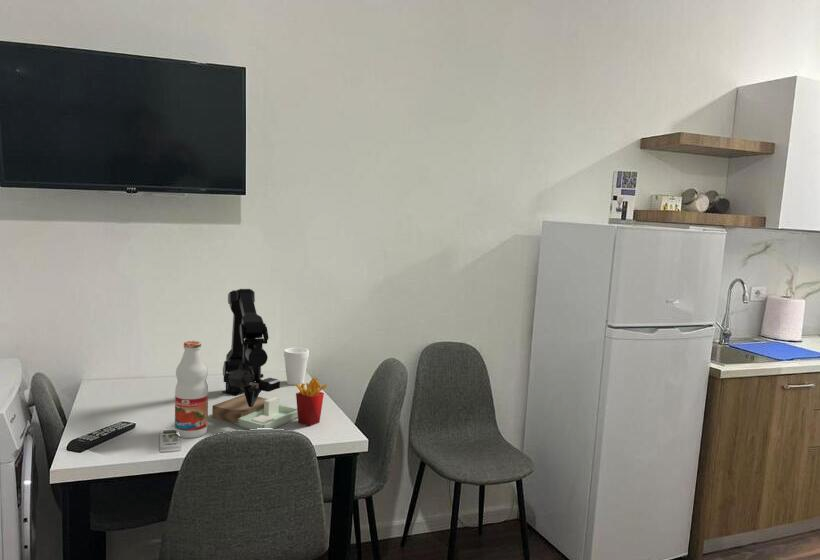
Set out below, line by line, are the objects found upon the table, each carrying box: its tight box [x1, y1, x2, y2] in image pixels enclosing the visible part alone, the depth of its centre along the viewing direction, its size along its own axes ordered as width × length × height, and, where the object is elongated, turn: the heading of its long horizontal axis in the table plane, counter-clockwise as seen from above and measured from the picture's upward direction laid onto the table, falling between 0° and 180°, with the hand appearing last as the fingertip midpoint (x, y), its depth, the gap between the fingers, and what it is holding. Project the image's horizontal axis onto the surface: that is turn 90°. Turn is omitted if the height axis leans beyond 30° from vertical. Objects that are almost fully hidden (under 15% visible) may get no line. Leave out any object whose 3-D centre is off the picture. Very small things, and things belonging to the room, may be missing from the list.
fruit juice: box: [174, 340, 209, 439], centre depth 198 cm, size 9×9×28 cm
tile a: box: [264, 396, 280, 417], centre depth 219 cm, size 5×5×2 cm
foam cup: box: [283, 347, 310, 386], centre depth 258 cm, size 10×9×13 cm
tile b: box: [251, 415, 274, 424], centre depth 209 cm, size 5×5×2 cm
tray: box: [237, 403, 298, 430], centre depth 214 cm, size 11×19×2 cm, turn 153°
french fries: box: [295, 377, 328, 427], centre depth 214 cm, size 9×8×15 cm
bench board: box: [211, 393, 268, 425], centre depth 219 cm, size 12×16×4 cm
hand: (250, 406), depth 212 cm, fingers closed
